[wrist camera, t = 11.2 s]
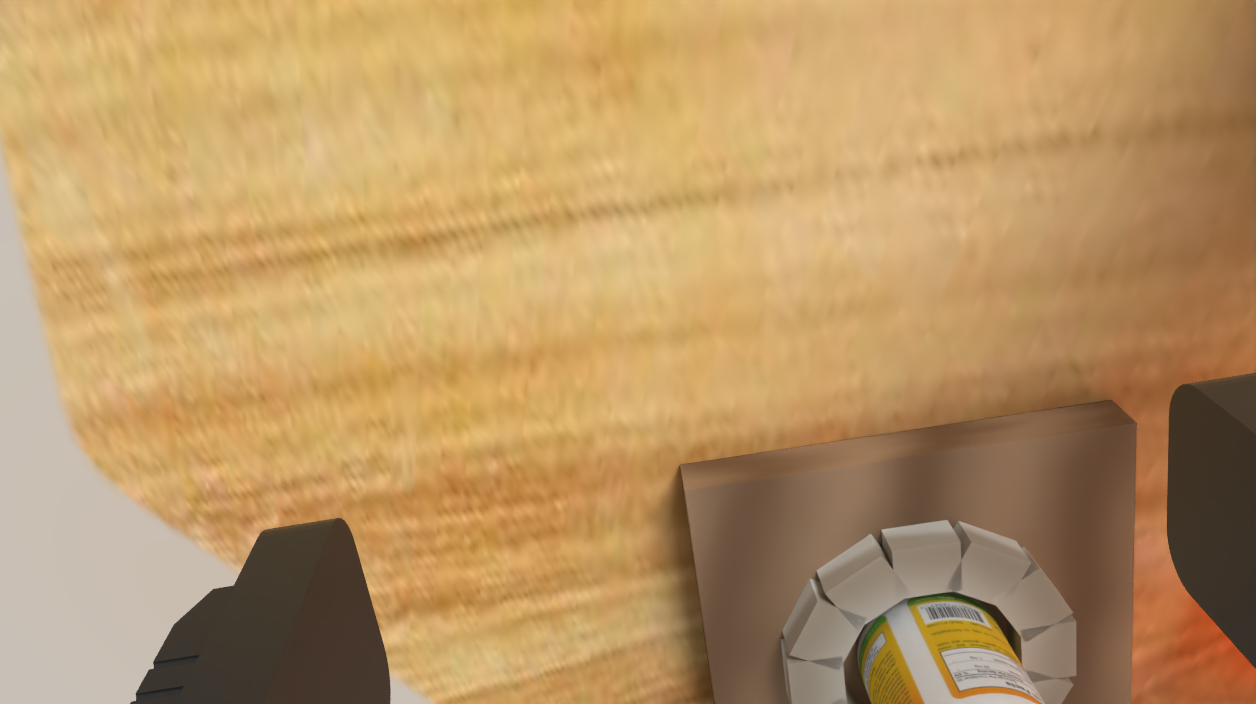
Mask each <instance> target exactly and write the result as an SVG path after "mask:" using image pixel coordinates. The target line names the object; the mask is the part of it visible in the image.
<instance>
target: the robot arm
mask: <svg viewBox="0 0 1256 704" xmlns="http://www.w3.org/2000/svg"><path fill="white" fill-rule="evenodd" d="M1167 536H1168V544H1169V549H1170V553H1171V557H1172V560H1173V563H1174V566H1175V569H1176V571H1177V574H1178V576H1179V578H1180V580H1181V582H1182V584H1183V585H1184V587H1185V589H1186V590H1187V592H1188V593H1189V594H1190V595H1191V597H1192V598H1193V599H1194V600H1195V601H1196V602H1197V603H1198V604H1199V606H1200V607H1201V608H1202V609H1203V610H1204V611H1205V612H1206V613H1207V614H1208V616H1209V617H1210V618H1211V619H1212V620H1213V621H1214V622H1215V623H1216V625H1217V626H1218V627H1219V628H1220V629H1221V630H1222V631H1223V632H1224V634H1225V635H1226V636H1227V637H1228V638H1229V639H1230V640H1231V641H1232V643H1233V644H1234V645H1235V646H1236V647H1237V648H1238V649H1239V650H1240V652H1241V653H1242V654H1243V655H1244V656H1245V657H1246V658H1247V659H1248V660H1249V662H1250V663H1251V664H1252V665H1253V666H1254V667H1255V668H1256V373H1252V374H1245V375H1239V376H1233V377H1227V378H1220V379H1214V380H1208V381H1202V382H1196V383H1189V384H1183V385H1181V386H1179V387H1178V388H1177V389H1176V390H1175V392H1174V394H1173V396H1172V399H1171V403H1170V410H1169V446H1168V495H1167ZM153 663H154V669H150V670H149V671H148V673H147V674H146V676H145V678H144V680H143V681H142V683H141V685H140V687H139V689H138V691H137V693H136V701H133V702H131V703H130V704H390V677H389V668H388V662H387V657H386V652H385V648H384V644H383V641H382V637H381V634H380V630H379V627H378V623H377V620H376V616H375V612H374V609H373V605H372V602H371V598H370V595H369V591H368V588H367V584H366V581H365V577H364V573H363V570H362V566H361V563H360V559H359V556H358V552H357V549H356V545H355V542H354V539H353V536H352V533H351V531H350V529H349V527H348V525H347V524H346V522H345V521H344V520H343V519H341V518H335V519H329V520H323V521H316V522H310V523H304V524H298V525H291V526H285V527H279V528H273V529H267V530H264V531H262V532H261V533H260V535H259V537H258V538H257V540H256V542H255V544H254V546H253V548H252V550H251V552H250V554H249V556H248V558H247V560H246V562H245V564H244V566H243V568H242V570H241V572H240V574H239V576H238V578H237V580H236V582H235V584H234V586H230V587H223V588H218V589H213V590H212V591H211V592H210V593H208V594H207V595H206V596H205V597H204V598H203V599H202V600H201V601H200V602H199V603H197V604H196V605H195V606H194V607H193V608H192V609H191V610H190V611H189V612H187V613H186V614H185V615H184V616H183V617H182V618H181V619H180V620H179V621H178V622H176V623H175V624H174V626H173V627H172V629H171V631H170V633H169V635H168V636H167V638H166V640H165V642H164V644H163V646H162V647H161V649H160V651H159V653H158V655H157V656H156V658H155V660H154V662H153Z"/></svg>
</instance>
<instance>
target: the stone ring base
mask: <svg viewBox="0 0 1256 704" xmlns="http://www.w3.org/2000/svg"><path fill="white" fill-rule="evenodd" d="M1136 427H1137V423H1136V422H1135V421H1134V420H1133V419H1132V418H1131V417H1130V416H1128V415H1127V414H1126V413H1125V412H1124V411H1123V410H1122V409H1121V408H1120V407H1119V406H1118V405H1116V404H1115V403H1114V402H1113V401H1112V400H1108V401H1102V402H1095V403H1088V404H1082V405H1075V406H1069V407H1062V408H1055V409H1049V410H1042V411H1035V412H1029V413H1022V414H1015V415H1009V416H1002V417H996V418H989V419H982V420H976V421H969V422H962V423H956V424H949V425H942V426H936V427H929V428H922V429H916V430H909V431H903V432H896V433H889V434H883V435H876V436H869V437H863V438H856V439H849V440H843V441H836V442H829V443H823V444H816V445H810V446H803V447H796V448H790V449H783V450H776V451H770V452H763V453H756V454H750V455H743V456H736V457H730V458H723V459H717V460H710V461H703V462H697V463H690V464H683V465H680V470H681V477H682V484H683V491H684V498H685V505H686V511H687V518H688V525H689V532H690V539H691V546H692V553H693V560H694V567H695V574H696V581H697V588H698V595H699V602H700V609H701V616H702V623H703V630H704V637H705V644H706V651H707V658H708V665H709V672H710V679H711V686H712V693H713V700H714V704H872V703H871V701H870V698H869V696H868V693H867V691H866V688H865V685H864V683H863V680H862V677H861V673H860V670H859V666H858V660H857V650H858V643H859V639H860V636H861V634H862V631H863V629H864V627H865V626H866V624H867V623H868V622H870V621H871V620H873V619H874V618H876V617H877V616H879V615H880V614H882V613H883V612H885V611H886V610H888V609H890V608H891V607H893V606H894V605H896V604H897V603H899V602H900V601H902V600H903V599H905V598H911V597H918V596H925V595H932V594H938V593H945V592H952V591H954V592H957V593H960V594H963V595H966V596H969V597H972V598H975V599H977V600H978V601H979V602H981V603H982V604H983V605H984V606H985V607H986V608H987V609H988V611H989V612H990V613H991V615H992V616H993V618H994V619H995V621H996V622H997V624H998V626H999V627H1000V629H1001V631H1002V632H1003V634H1004V636H1005V637H1006V639H1007V641H1008V643H1009V644H1010V646H1011V648H1012V649H1013V651H1014V653H1015V654H1016V656H1017V658H1018V659H1019V661H1020V663H1021V664H1022V666H1023V668H1024V669H1025V671H1026V673H1027V674H1028V676H1029V678H1030V680H1031V682H1032V683H1033V685H1034V686H1035V688H1036V690H1037V692H1038V693H1039V695H1040V696H1041V698H1042V700H1043V701H1044V703H1045V704H1131V668H1132V620H1133V572H1134V524H1135V475H1136Z"/></svg>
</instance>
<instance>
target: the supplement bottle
mask: <svg viewBox="0 0 1256 704" xmlns="http://www.w3.org/2000/svg"><path fill="white" fill-rule="evenodd" d="M857 660H858V666H859V670H860V673H861V677H862V680H863V683H864V685H865V688H866V691H867V693H868V696H869V698H870V701H871V703H872V704H1045V703H1044V701H1043V700H1042V698H1041V696H1040V695H1039V693H1038V692H1037V690H1036V688H1035V686H1034V685H1033V683H1032V682H1031V680H1030V678H1029V676H1028V674H1027V673H1026V671H1025V669H1024V668H1023V666H1022V664H1021V663H1020V661H1019V659H1018V658H1017V656H1016V654H1015V653H1014V651H1013V649H1012V648H1011V646H1010V644H1009V643H1008V641H1007V639H1006V637H1005V636H1004V634H1003V632H1002V631H1001V629H1000V627H999V626H998V624H997V622H996V621H995V619H994V618H993V616H992V615H991V613H990V612H989V611H988V609H987V608H986V607H985V606H984V605H983V604H982V603H981V602H979V601H978V600H977V599H975V598H972V597H969V596H966V595H963V594H960V593H957V592H954V591H952V592H945V593H938V594H932V595H925V596H918V597H911V598H905V599H903V600H902V601H900V602H899V603H897V604H896V605H894V606H893V607H891V608H890V609H888V610H886V611H885V612H883V613H882V614H880V615H879V616H877V617H876V618H874V619H873V620H871V621H870V622H868V623H867V624H866V626H865V627H864V629H863V631H862V634H861V636H860V639H859V643H858V650H857Z"/></svg>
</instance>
